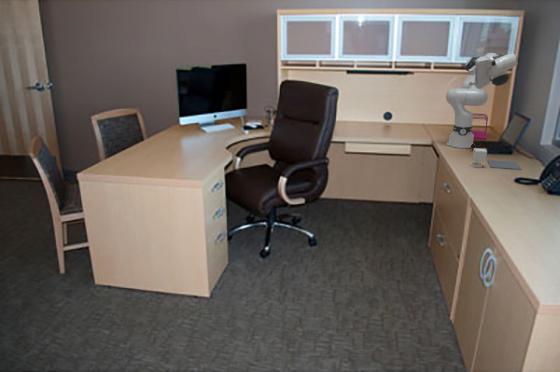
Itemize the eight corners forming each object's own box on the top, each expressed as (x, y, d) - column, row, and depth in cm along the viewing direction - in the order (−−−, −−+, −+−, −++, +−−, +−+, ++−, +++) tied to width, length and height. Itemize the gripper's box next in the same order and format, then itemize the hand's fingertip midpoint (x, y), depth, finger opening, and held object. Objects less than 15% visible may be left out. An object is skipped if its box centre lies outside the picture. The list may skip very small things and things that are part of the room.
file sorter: (460, 138, 334) (463, 117, 329) (462, 131, 356) (464, 112, 351) (486, 140, 327) (489, 118, 322) (486, 133, 349) (489, 113, 344)
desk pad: (487, 160, 274) (487, 159, 274) (516, 162, 270) (516, 161, 269) (490, 167, 260) (490, 166, 259) (521, 169, 255) (521, 169, 255)
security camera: (484, 167, 260) (487, 151, 257) (472, 167, 261) (474, 150, 258) (482, 164, 266) (484, 148, 262) (469, 164, 267) (472, 147, 264)
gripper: (487, 80, 280) (466, 89, 280) (488, 52, 265) (466, 61, 266) (493, 85, 275) (472, 94, 275) (494, 57, 261) (472, 66, 261)
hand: (469, 78), depth 271 cm, fingers open, 8 cm apart
